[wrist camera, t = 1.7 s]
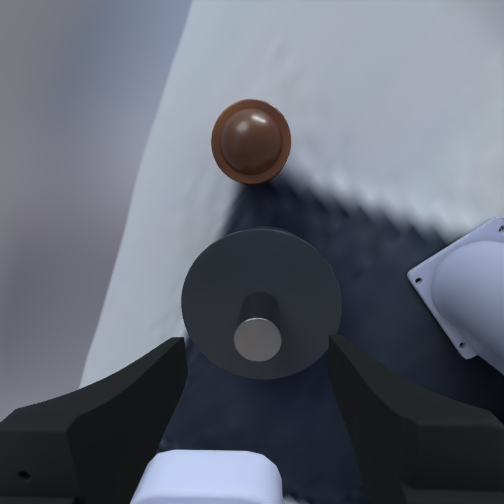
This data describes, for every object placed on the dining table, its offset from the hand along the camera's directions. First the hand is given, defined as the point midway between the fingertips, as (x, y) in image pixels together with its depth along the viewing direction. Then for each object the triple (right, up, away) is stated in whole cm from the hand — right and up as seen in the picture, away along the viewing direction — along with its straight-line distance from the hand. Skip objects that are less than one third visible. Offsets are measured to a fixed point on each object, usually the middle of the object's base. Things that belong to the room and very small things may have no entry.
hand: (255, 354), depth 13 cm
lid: (0, +1, +6) cm, 6 cm away
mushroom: (0, +13, +8) cm, 15 cm away
